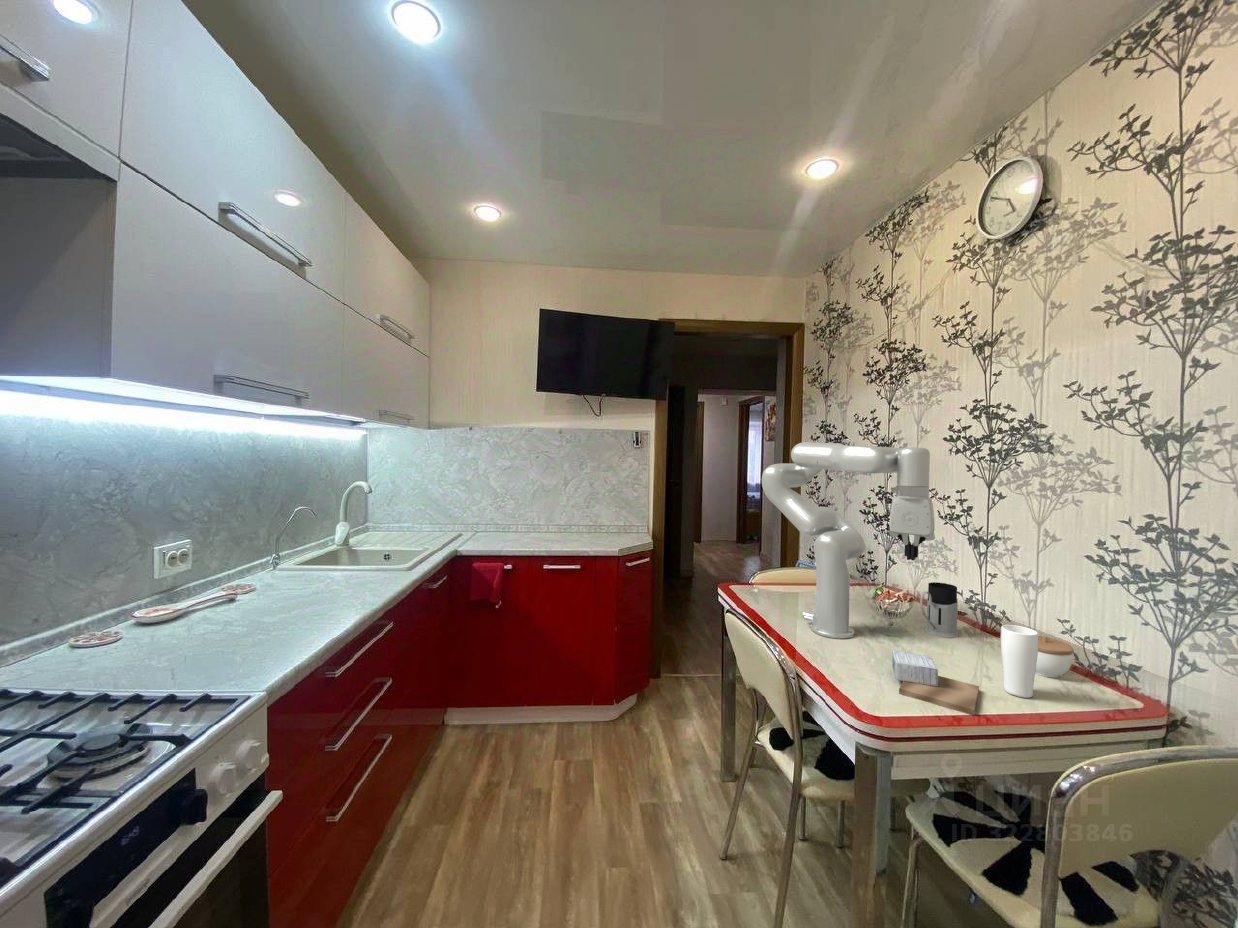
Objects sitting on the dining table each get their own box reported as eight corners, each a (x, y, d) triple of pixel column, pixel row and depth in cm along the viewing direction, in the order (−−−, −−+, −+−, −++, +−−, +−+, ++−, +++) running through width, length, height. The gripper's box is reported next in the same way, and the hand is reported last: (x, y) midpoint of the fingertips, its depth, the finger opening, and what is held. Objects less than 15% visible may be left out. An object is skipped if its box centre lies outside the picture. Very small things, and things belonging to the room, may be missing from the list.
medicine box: (895, 679, 115) (938, 687, 111) (895, 661, 115) (938, 668, 111) (891, 666, 122) (931, 673, 118) (892, 649, 122) (932, 655, 118)
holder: (965, 635, 147) (966, 587, 147) (934, 642, 142) (935, 592, 142) (936, 626, 155) (937, 580, 155) (906, 632, 150) (907, 584, 150)
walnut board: (899, 693, 111) (899, 688, 111) (910, 673, 121) (910, 668, 121) (974, 715, 101) (974, 709, 101) (978, 691, 112) (979, 686, 112)
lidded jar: (1082, 685, 116) (1083, 646, 116) (1029, 678, 119) (1030, 641, 119) (1058, 666, 126) (1059, 631, 126) (1009, 660, 129) (1010, 626, 129)
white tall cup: (1028, 688, 113) (1030, 626, 113) (1043, 702, 107) (1044, 636, 107) (994, 684, 116) (995, 622, 115) (1006, 697, 109) (1008, 632, 109)
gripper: (878, 491, 132) (877, 557, 132) (943, 495, 122) (942, 566, 123) (885, 490, 138) (883, 553, 138) (947, 493, 128) (945, 561, 128)
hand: (911, 559), depth 130 cm, fingers closed
